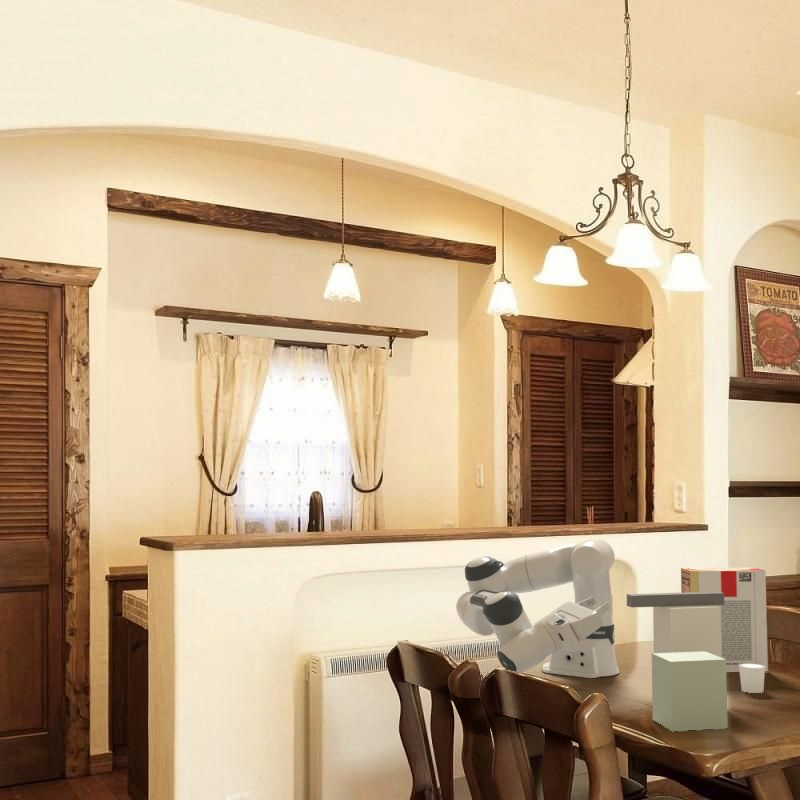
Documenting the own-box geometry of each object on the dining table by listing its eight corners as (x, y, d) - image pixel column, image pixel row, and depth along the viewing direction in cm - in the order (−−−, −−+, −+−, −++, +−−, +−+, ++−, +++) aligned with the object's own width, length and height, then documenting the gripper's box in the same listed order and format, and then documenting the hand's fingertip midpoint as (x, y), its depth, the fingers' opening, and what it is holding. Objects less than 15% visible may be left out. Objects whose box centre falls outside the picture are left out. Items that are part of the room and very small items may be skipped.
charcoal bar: (631, 607, 246) (631, 595, 247) (626, 605, 249) (626, 594, 250) (724, 604, 251) (724, 593, 251) (718, 603, 254) (718, 591, 254)
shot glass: (763, 695, 256) (762, 669, 257) (736, 692, 260) (735, 666, 260) (768, 690, 262) (767, 664, 262) (742, 687, 266) (741, 661, 266)
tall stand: (672, 708, 243) (670, 608, 245) (654, 698, 253) (653, 602, 254) (722, 705, 246) (720, 607, 247) (703, 696, 255) (701, 601, 257)
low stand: (672, 731, 222) (670, 661, 223) (652, 720, 231) (651, 653, 232) (727, 728, 224) (726, 659, 225) (706, 717, 234) (704, 651, 235)
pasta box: (756, 666, 292) (754, 567, 294) (767, 672, 284) (765, 570, 286) (682, 667, 291) (680, 568, 293) (692, 673, 283) (690, 571, 285)
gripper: (548, 634, 254) (591, 606, 257) (577, 648, 234) (622, 619, 237) (537, 613, 254) (580, 586, 257) (564, 626, 234) (610, 597, 237)
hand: (600, 602), depth 247 cm, fingers open, 8 cm apart
